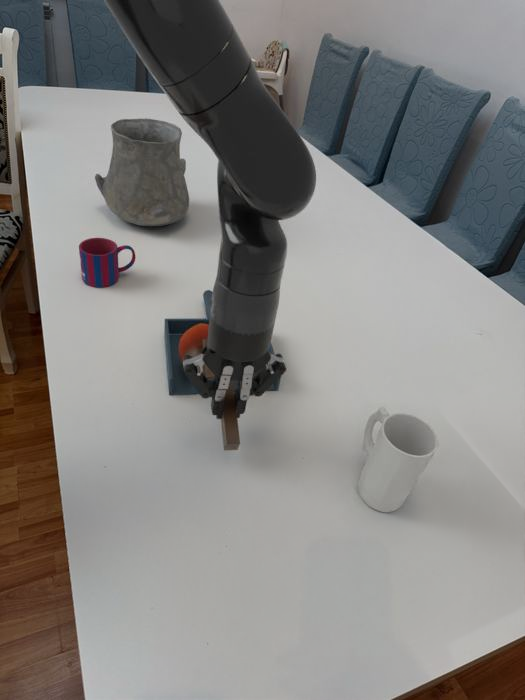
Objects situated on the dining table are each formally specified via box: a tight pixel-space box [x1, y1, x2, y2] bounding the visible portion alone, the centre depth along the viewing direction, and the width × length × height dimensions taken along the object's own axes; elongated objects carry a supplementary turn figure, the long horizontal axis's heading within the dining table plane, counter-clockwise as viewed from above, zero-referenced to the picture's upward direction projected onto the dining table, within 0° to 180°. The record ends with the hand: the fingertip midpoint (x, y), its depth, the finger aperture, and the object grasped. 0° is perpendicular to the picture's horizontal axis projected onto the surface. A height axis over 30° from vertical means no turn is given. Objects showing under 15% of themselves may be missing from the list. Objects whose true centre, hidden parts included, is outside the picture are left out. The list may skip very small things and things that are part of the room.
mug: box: [357, 406, 439, 513], centre depth 64 cm, size 10×7×12 cm, turn 23°
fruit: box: [179, 323, 209, 375], centre depth 76 cm, size 8×8×8 cm
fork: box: [202, 339, 241, 452], centre depth 68 cm, size 16×5×2 cm, turn 11°
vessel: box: [94, 117, 190, 227], centre depth 110 cm, size 22×22×20 cm
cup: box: [78, 237, 136, 288], centre depth 93 cm, size 7×10×7 cm
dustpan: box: [163, 289, 283, 396], centre depth 84 cm, size 24×17×3 cm
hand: (227, 413), depth 68 cm, fingers closed on fork, 2 cm apart
